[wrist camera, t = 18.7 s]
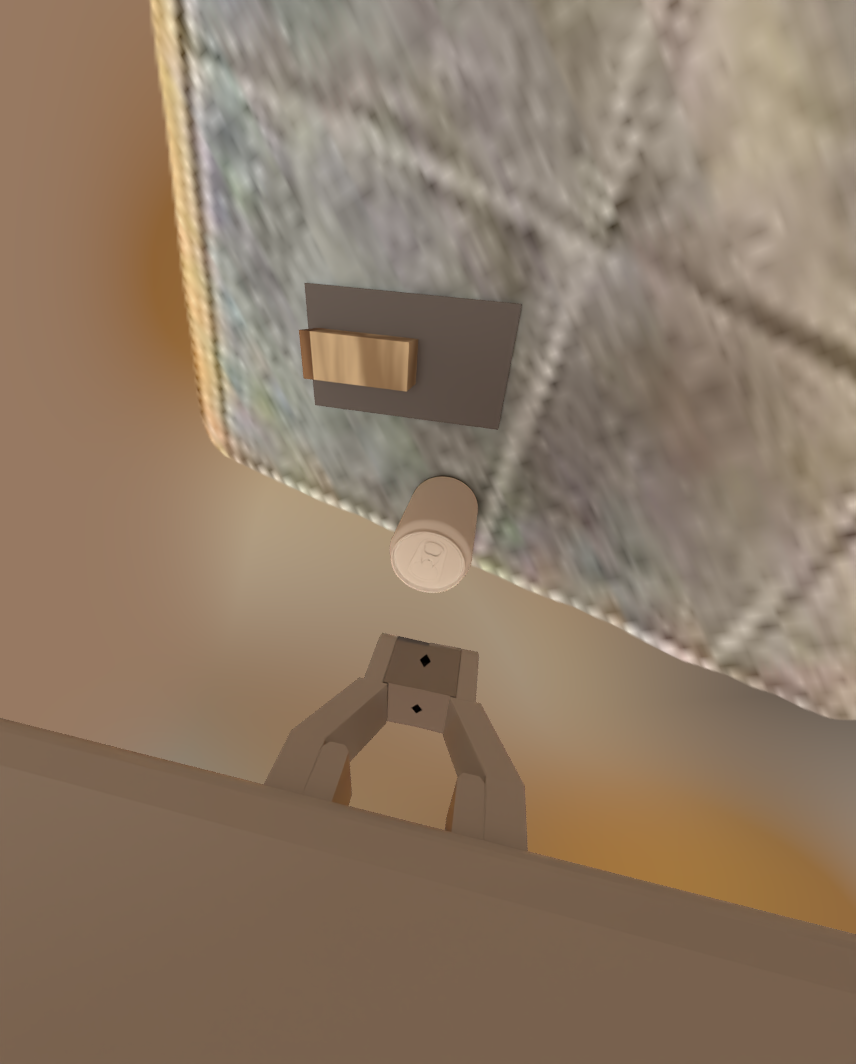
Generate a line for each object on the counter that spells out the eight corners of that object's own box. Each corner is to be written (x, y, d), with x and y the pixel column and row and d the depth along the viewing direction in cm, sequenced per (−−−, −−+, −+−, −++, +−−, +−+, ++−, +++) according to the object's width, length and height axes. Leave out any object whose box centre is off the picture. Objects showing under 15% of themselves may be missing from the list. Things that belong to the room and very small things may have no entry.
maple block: (409, 342, 31) (298, 329, 32) (406, 391, 33) (303, 378, 34) (418, 338, 34) (318, 327, 35) (415, 383, 36) (321, 371, 37)
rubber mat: (521, 304, 32) (521, 304, 31) (498, 428, 38) (497, 429, 37) (307, 283, 34) (304, 283, 33) (317, 403, 40) (315, 405, 39)
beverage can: (405, 520, 46) (377, 580, 36) (422, 464, 41) (396, 514, 31) (464, 541, 46) (453, 607, 36) (488, 487, 41) (483, 545, 31)
